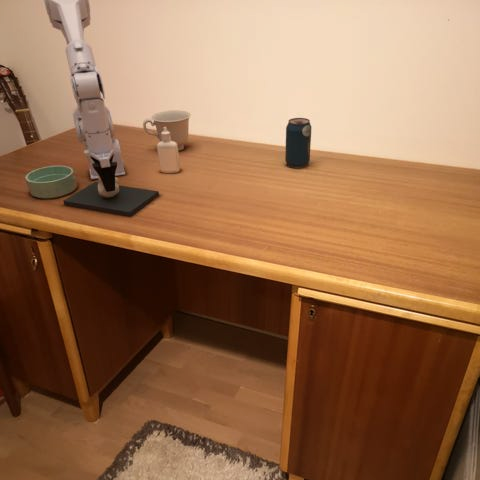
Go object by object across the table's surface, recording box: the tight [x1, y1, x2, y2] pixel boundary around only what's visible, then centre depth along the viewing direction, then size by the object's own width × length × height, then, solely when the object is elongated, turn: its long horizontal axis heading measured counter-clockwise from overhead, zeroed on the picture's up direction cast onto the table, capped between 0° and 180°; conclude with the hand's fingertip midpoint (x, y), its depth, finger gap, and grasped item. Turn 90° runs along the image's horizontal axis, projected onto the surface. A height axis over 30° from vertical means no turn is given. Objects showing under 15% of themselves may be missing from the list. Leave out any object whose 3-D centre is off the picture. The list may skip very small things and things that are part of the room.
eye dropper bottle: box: [156, 127, 181, 174], centre depth 129 cm, size 4×6×12 cm
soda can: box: [284, 117, 313, 169], centre depth 129 cm, size 7×7×12 cm
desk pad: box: [63, 181, 160, 218], centre depth 117 cm, size 20×13×1 cm, turn 66°
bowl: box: [25, 165, 78, 200], centre depth 123 cm, size 12×12×4 cm
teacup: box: [142, 109, 192, 152], centre depth 144 cm, size 12×15×10 cm
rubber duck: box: [97, 176, 120, 198], centre depth 115 cm, size 5×7×8 cm
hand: (109, 186), depth 115 cm, fingers closed on rubber duck, 5 cm apart
